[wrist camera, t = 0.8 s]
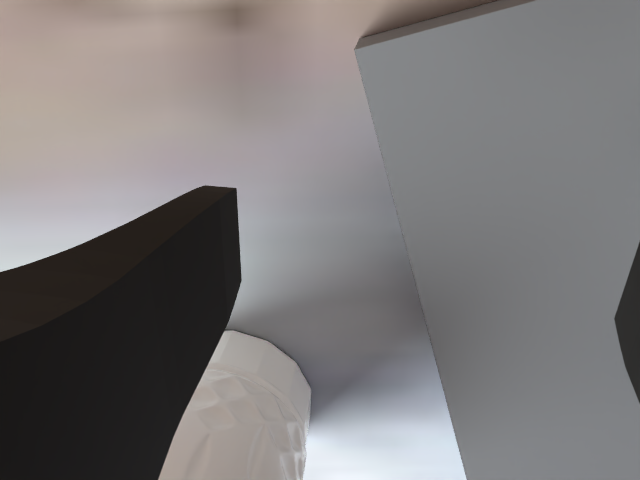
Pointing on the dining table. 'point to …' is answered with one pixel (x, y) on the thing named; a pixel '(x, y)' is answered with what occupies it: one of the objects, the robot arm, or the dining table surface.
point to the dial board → (520, 222)
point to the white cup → (243, 417)
